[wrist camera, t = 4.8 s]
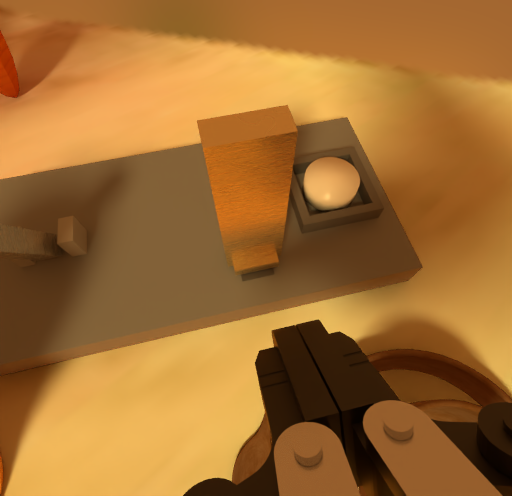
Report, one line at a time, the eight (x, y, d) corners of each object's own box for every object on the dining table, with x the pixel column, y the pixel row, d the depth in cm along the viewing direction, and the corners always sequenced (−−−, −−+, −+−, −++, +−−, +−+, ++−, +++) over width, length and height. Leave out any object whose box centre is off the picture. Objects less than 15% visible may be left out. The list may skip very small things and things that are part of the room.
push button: (311, 216, 19) (314, 205, 18) (296, 175, 21) (298, 162, 20) (362, 206, 20) (368, 194, 19) (343, 166, 21) (348, 152, 20)
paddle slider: (230, 276, 18) (205, 163, 10) (222, 238, 19) (194, 107, 11) (283, 264, 18) (303, 145, 10) (272, 228, 19) (282, 92, 11)
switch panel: (-6, 377, 18) (-65, 368, 15) (15, 198, 23) (-25, 163, 20) (408, 280, 20) (436, 254, 17) (340, 138, 25) (352, 98, 22)
